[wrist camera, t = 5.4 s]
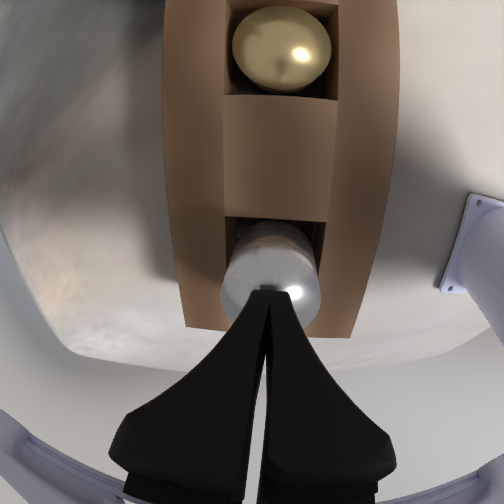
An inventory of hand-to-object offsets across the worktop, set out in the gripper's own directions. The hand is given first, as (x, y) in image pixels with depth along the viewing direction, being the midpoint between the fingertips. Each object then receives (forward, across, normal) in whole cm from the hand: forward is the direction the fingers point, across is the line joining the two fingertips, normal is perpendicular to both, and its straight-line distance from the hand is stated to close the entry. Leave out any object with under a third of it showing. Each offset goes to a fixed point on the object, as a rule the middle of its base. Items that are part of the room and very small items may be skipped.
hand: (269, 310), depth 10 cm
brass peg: (+8, 0, -10) cm, 13 cm away
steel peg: (+4, 0, 0) cm, 4 cm away
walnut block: (+8, 0, -5) cm, 9 cm away
